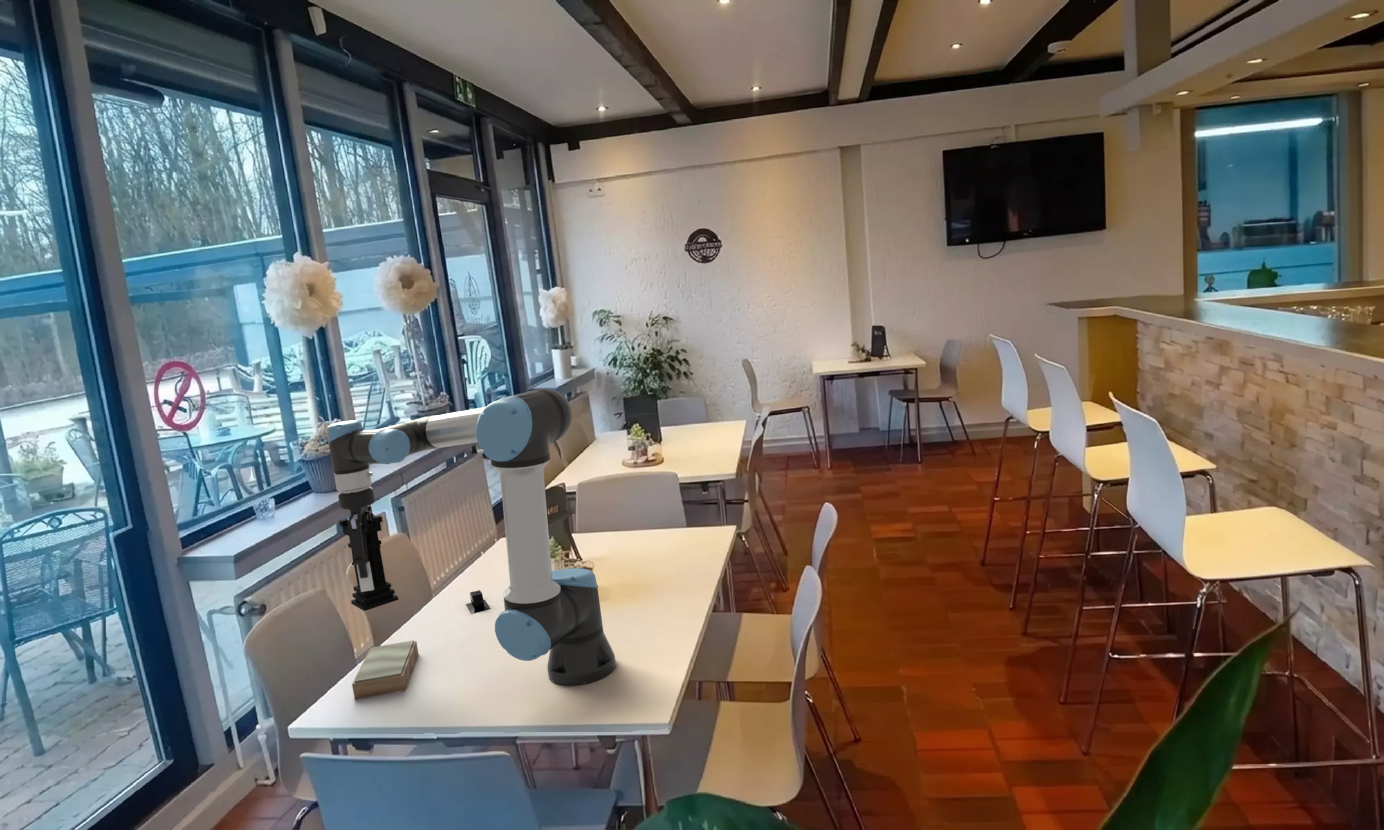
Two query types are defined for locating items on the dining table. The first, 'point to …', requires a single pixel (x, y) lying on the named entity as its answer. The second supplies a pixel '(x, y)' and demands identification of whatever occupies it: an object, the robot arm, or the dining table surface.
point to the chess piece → (372, 569)
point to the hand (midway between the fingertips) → (371, 583)
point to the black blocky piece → (477, 603)
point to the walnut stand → (386, 669)
